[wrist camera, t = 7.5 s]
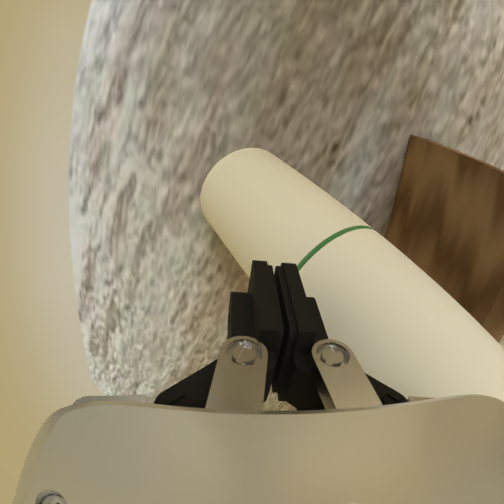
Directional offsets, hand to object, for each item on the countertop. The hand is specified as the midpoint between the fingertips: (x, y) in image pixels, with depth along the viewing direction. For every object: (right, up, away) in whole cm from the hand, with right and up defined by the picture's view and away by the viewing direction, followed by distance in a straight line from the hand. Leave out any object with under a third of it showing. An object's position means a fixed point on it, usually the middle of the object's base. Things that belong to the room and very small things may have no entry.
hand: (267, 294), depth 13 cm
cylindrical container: (-1, +6, +12) cm, 14 cm away
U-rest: (+14, +6, +15) cm, 21 cm away
